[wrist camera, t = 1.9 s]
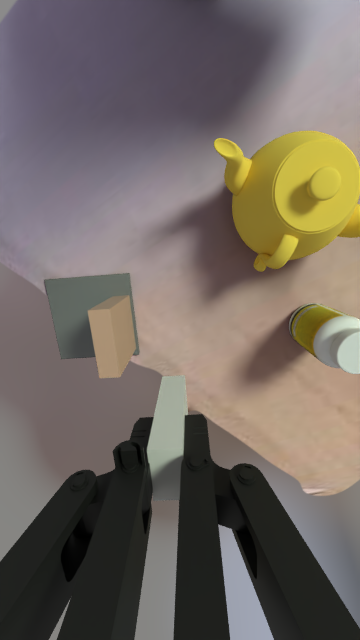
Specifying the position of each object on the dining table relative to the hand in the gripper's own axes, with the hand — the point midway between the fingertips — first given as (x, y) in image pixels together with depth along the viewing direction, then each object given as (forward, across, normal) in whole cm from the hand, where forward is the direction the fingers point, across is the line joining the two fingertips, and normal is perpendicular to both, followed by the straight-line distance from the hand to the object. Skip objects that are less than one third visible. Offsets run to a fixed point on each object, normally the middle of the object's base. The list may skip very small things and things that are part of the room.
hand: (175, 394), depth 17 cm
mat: (+20, -13, +1) cm, 24 cm away
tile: (+20, -8, 0) cm, 21 cm away
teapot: (+20, +13, +13) cm, 27 cm away
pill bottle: (+20, +18, -2) cm, 27 cm away
